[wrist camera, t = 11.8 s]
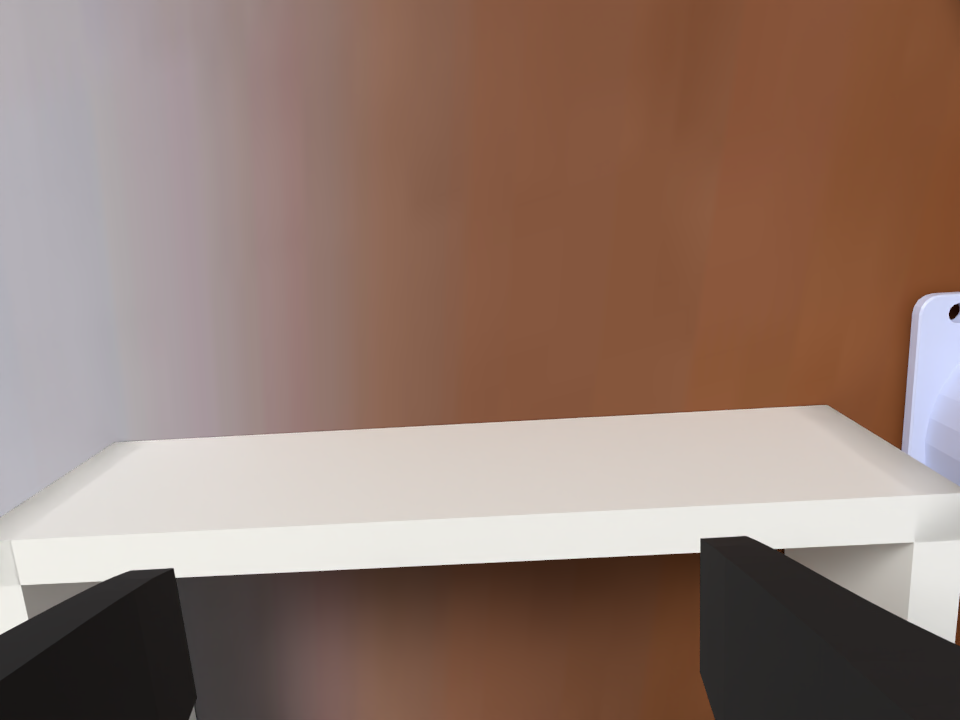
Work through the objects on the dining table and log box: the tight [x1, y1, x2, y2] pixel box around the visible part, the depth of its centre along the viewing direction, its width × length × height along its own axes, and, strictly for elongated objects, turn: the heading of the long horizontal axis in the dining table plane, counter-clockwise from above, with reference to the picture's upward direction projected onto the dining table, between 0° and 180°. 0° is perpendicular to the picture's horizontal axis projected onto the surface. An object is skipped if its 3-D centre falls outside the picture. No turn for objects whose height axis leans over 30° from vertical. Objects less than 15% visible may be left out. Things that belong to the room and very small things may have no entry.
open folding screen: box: [0, 405, 960, 720], centre depth 18 cm, size 20×12×6 cm, turn 93°
